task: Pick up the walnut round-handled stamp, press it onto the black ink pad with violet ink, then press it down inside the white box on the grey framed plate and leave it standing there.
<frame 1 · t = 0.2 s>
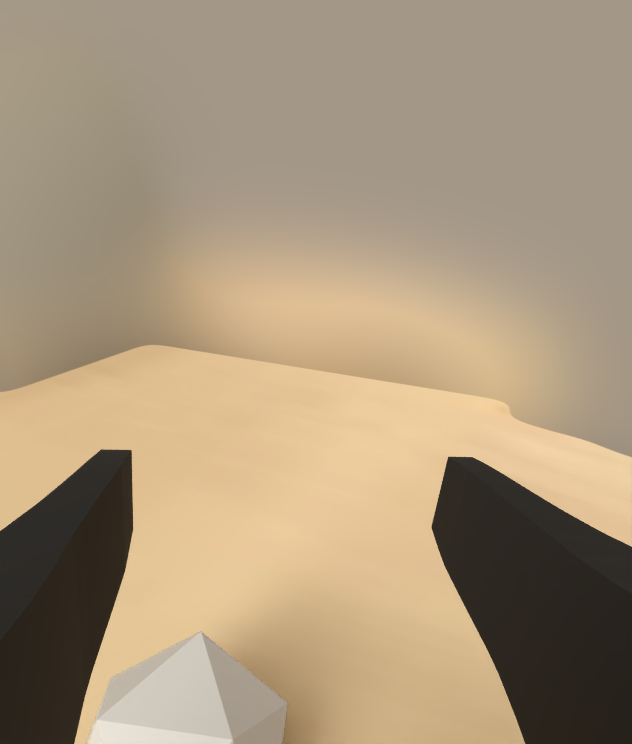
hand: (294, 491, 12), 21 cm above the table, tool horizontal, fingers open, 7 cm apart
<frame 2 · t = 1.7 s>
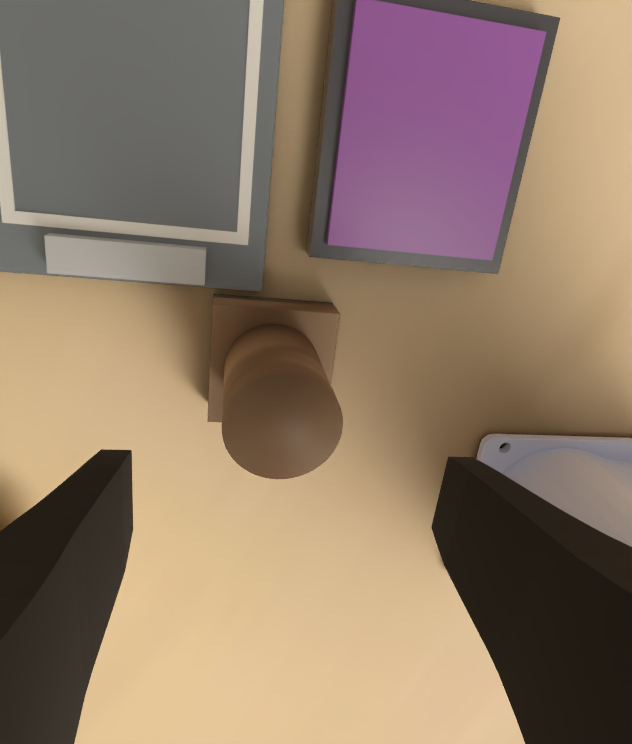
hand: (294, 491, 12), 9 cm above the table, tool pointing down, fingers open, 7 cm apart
ink pad: (418, 144, 18), on the table
stamp: (269, 353, 20), on the table
grey framed plate: (129, 104, 16), on the table
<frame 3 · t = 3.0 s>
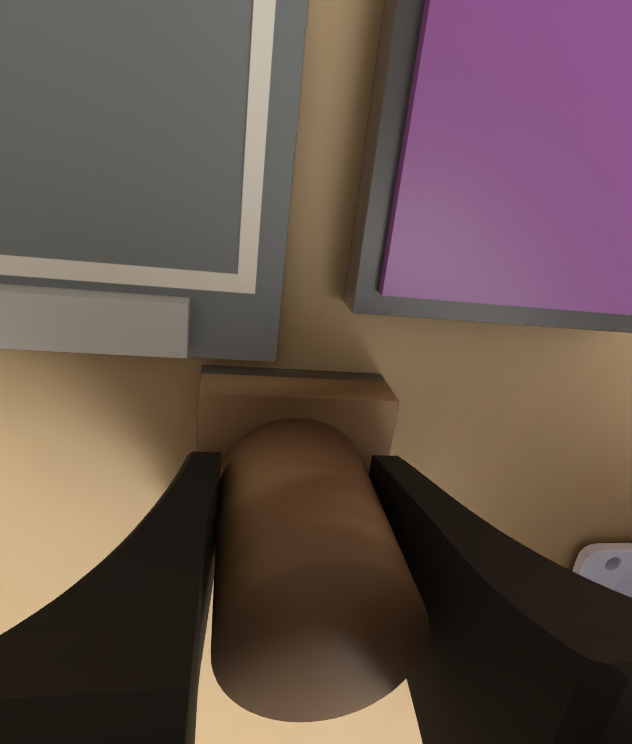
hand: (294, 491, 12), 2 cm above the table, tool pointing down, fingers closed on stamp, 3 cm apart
ink pad: (523, 135, 11), on the table
stamp: (286, 447, 13), on the table, touching gripper
grey framed plate: (58, 68, 10), on the table
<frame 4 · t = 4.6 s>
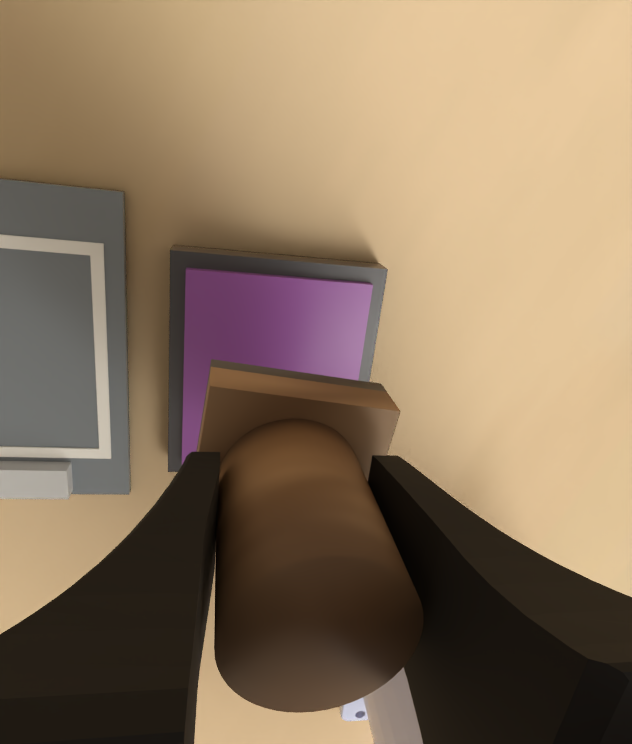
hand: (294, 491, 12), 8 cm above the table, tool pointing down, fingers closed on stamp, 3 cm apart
ink pad: (270, 364, 19), on the table
stamp: (282, 447, 14), point 6 cm above the table, touching gripper
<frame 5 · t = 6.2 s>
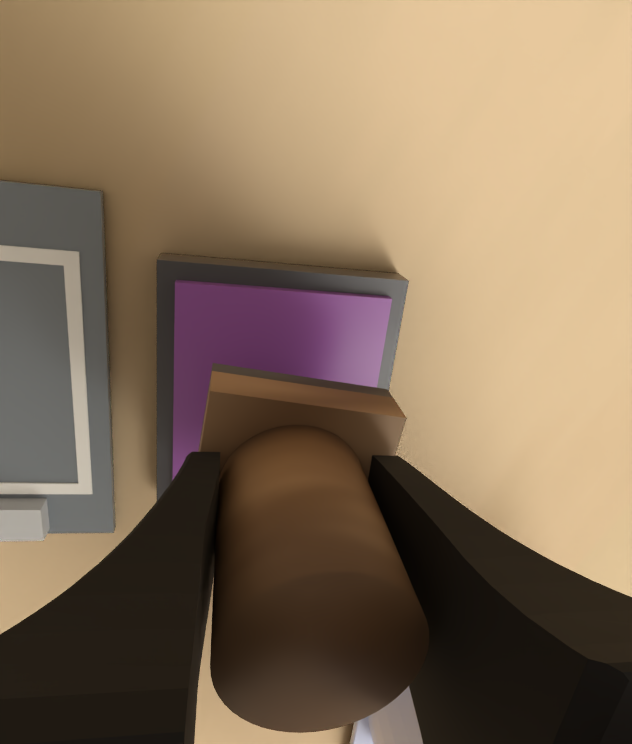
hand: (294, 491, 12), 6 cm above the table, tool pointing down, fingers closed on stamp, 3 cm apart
ink pad: (273, 387, 17), on the table
stamp: (285, 453, 13), point 4 cm above the table, touching gripper
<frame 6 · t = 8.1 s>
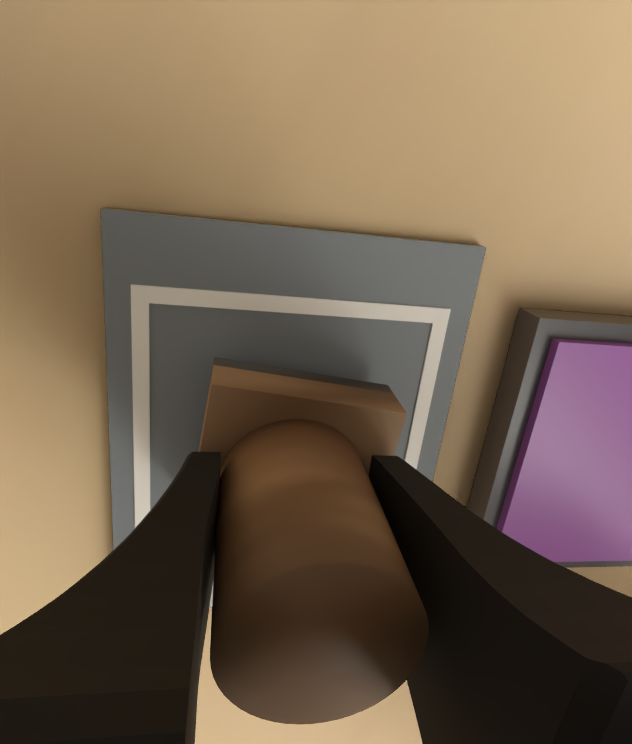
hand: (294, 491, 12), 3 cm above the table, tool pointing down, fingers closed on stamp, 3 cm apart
ink pad: (590, 441, 16), on the table
stamp: (285, 448, 13), point 1 cm above the table, touching gripper
grey framed plate: (283, 432, 14), on the table
when the fingers open (3 cm above the table, at t = 9.5 s): stamp stays where it is, resting on grey framed plate.
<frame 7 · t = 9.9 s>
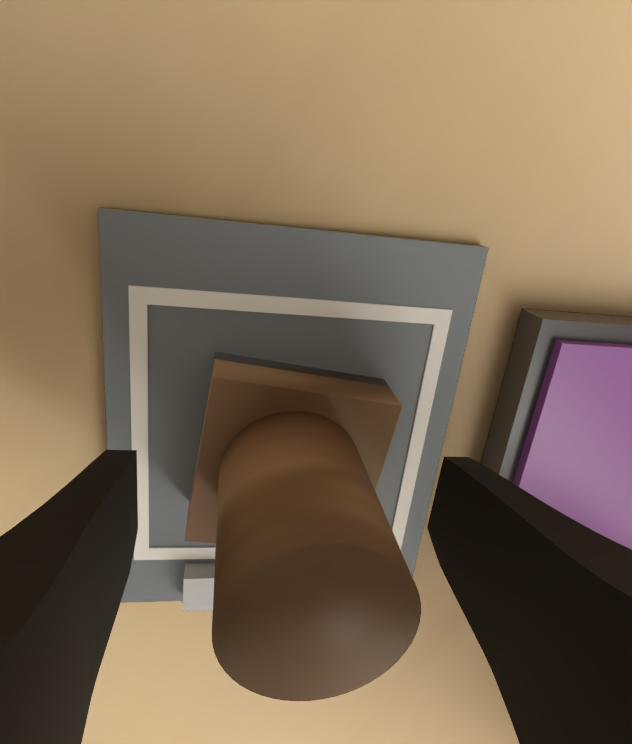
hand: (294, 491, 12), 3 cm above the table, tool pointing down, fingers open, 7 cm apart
ink pad: (592, 443, 16), on the table
stamp: (284, 441, 14), resting on grey framed plate
grey framed plate: (283, 435, 14), on the table
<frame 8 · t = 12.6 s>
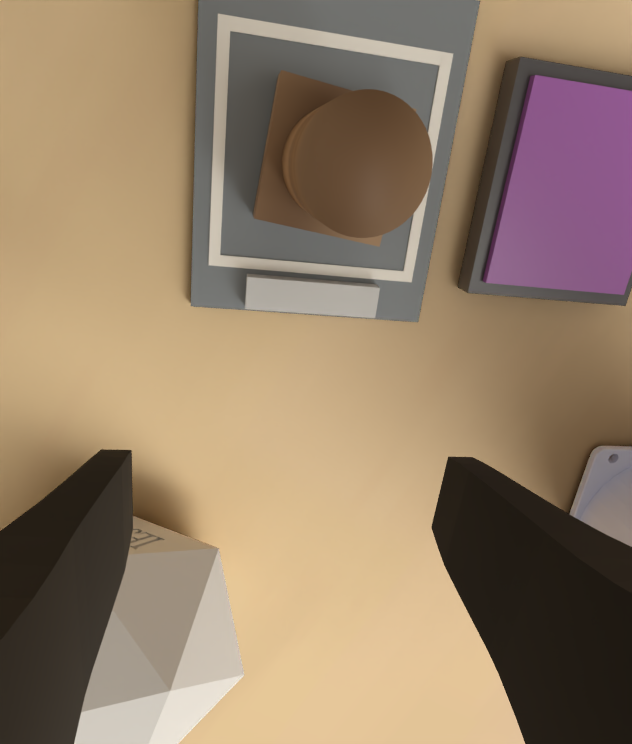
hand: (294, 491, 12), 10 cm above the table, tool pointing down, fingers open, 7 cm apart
ink pad: (563, 193, 20), on the table
stamp: (325, 164, 18), resting on grey framed plate
grey framed plate: (324, 163, 18), on the table
die: (141, 560, 24), on the table
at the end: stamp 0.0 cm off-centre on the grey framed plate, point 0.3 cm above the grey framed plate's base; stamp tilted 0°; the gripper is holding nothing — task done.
